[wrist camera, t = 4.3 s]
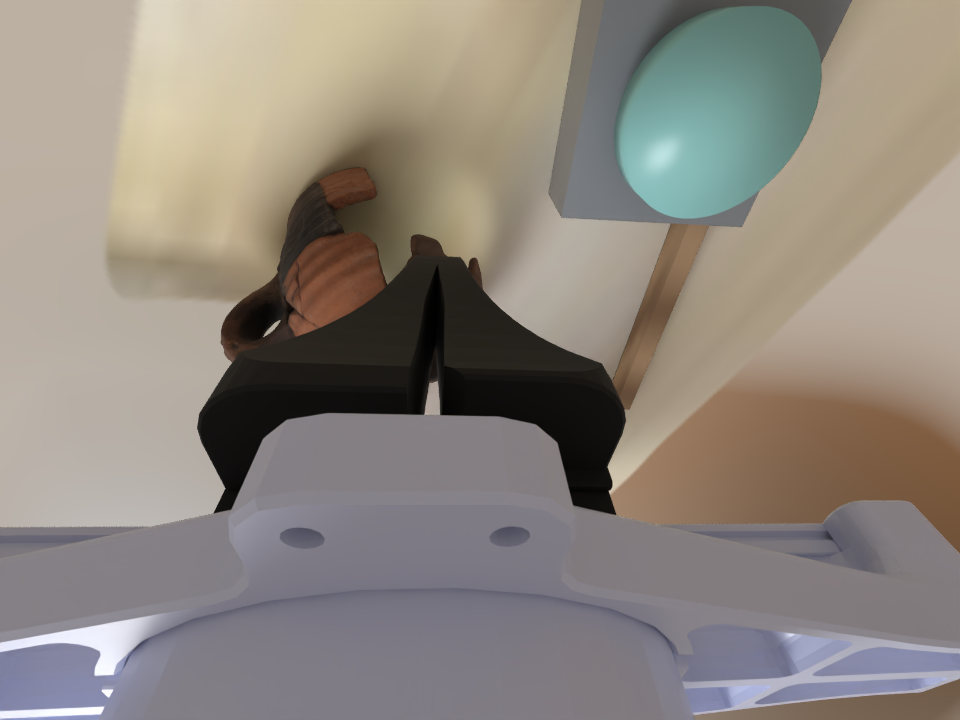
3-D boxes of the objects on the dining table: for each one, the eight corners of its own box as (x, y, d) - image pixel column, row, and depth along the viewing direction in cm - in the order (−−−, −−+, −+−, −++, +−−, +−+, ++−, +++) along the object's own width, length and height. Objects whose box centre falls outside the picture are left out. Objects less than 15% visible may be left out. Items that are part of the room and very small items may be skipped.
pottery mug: (415, 118, 18) (494, 254, 14) (455, 254, 26) (511, 361, 23) (150, 229, 17) (168, 399, 14) (280, 332, 26) (310, 453, 22)
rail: (622, 393, 29) (629, 409, 27) (608, 393, 28) (614, 409, 27) (707, 181, 20) (724, 191, 18) (687, 179, 20) (702, 190, 18)
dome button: (705, 185, 19) (760, 222, 16) (577, 177, 18) (605, 214, 15) (773, 15, 15) (866, 16, 12) (615, 0, 15) (663, -5, 11)
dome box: (709, 202, 20) (741, 227, 18) (548, 193, 20) (561, 217, 17) (800, -18, 15) (862, -23, 13) (588, -40, 15) (614, -50, 12)
